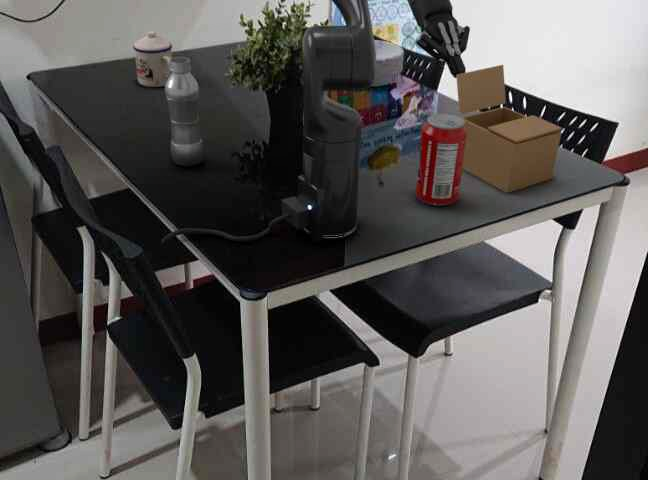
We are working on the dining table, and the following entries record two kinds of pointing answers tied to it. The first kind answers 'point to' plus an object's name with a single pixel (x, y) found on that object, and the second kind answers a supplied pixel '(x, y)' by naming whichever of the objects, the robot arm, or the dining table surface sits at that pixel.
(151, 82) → the teacup with lid
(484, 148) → the carton
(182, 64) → the plastic bottle
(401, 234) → the dining table surface
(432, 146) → the soda can
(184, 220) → the dining table surface
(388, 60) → the paper bowls
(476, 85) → the flap
